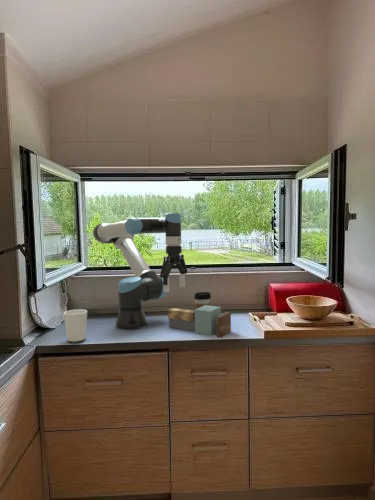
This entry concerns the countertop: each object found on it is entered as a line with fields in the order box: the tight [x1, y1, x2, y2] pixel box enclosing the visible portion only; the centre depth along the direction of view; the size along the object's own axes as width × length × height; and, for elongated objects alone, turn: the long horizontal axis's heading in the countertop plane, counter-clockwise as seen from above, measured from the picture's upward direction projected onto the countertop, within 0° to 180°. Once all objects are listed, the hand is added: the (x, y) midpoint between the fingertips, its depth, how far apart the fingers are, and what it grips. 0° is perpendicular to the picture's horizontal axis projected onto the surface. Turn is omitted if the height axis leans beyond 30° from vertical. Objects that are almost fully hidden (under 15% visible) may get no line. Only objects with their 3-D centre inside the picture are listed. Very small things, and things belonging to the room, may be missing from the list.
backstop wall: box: [216, 311, 232, 339], centre depth 152 cm, size 2×10×9 cm, turn 148°
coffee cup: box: [193, 291, 212, 309], centre depth 173 cm, size 8×8×15 cm
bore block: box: [194, 305, 222, 337], centre depth 157 cm, size 8×10×11 cm
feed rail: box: [168, 318, 195, 331], centre depth 164 cm, size 15×2×4 cm, turn 58°
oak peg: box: [167, 307, 195, 321], centre depth 164 cm, size 14×4×4 cm, turn 58°
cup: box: [63, 308, 88, 344], centre depth 149 cm, size 10×10×13 cm
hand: (174, 289), depth 165 cm, fingers open, 13 cm apart
